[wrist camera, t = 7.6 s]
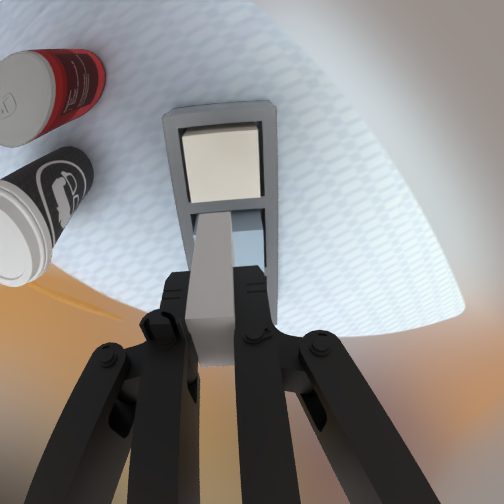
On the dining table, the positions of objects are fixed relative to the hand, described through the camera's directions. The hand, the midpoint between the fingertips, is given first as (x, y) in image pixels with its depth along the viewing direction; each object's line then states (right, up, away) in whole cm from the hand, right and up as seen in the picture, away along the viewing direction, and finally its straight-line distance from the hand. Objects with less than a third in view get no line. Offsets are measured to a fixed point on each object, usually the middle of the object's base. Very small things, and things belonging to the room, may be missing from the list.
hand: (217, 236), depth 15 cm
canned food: (-17, +17, +8) cm, 25 cm away
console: (-1, +3, +19) cm, 19 cm away
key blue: (-1, +1, +16) cm, 16 cm away
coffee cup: (-19, +8, +14) cm, 25 cm away
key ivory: (-1, +9, +12) cm, 15 cm away
